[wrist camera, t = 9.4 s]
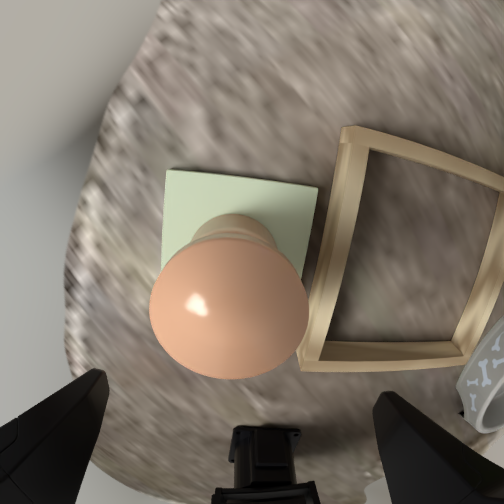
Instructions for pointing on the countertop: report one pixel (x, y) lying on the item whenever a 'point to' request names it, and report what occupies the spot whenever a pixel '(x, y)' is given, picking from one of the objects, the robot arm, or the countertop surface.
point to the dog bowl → (485, 383)
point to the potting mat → (237, 209)
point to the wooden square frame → (337, 249)
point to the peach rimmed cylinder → (229, 301)
